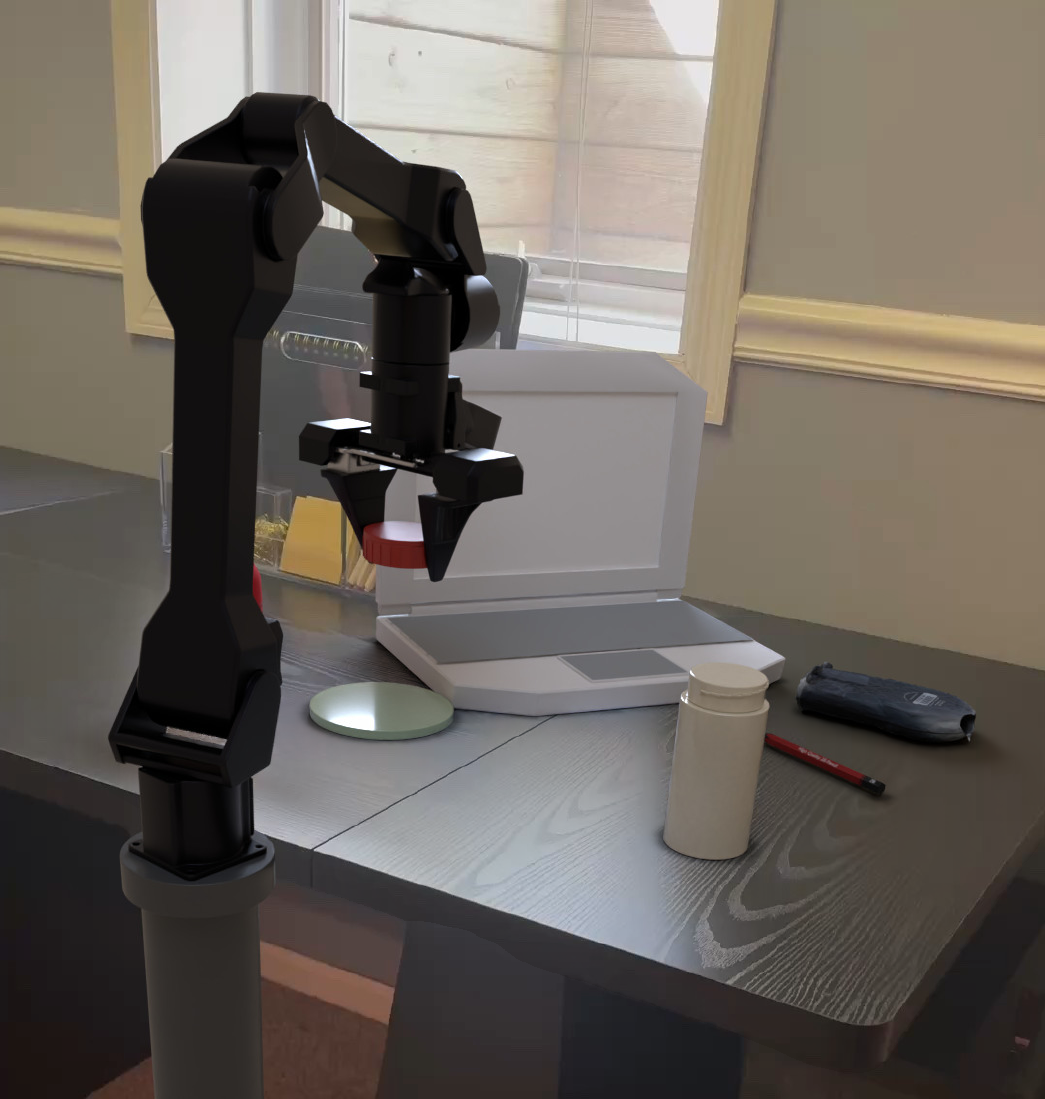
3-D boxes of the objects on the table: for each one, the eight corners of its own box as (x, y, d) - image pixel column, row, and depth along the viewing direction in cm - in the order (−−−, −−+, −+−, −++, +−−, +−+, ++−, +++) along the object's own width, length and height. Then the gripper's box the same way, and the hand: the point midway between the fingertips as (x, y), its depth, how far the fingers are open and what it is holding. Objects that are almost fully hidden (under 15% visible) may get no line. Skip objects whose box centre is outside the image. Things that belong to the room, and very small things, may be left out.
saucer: (382, 751, 111) (382, 742, 111) (279, 711, 118) (279, 702, 117) (482, 717, 120) (483, 708, 119) (381, 681, 126) (381, 672, 126)
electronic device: (788, 733, 125) (960, 749, 118) (792, 670, 123) (967, 682, 116) (820, 718, 133) (984, 733, 126) (825, 659, 131) (991, 670, 124)
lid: (419, 544, 115) (420, 518, 114) (464, 564, 110) (466, 537, 109) (347, 551, 111) (347, 524, 110) (390, 572, 107) (391, 544, 106)
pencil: (756, 736, 119) (757, 725, 119) (884, 793, 110) (886, 781, 109) (748, 738, 119) (750, 726, 118) (876, 796, 109) (878, 784, 109)
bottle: (718, 868, 96) (743, 695, 91) (646, 840, 100) (666, 672, 94) (763, 843, 101) (790, 676, 95) (693, 817, 104) (715, 654, 98)
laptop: (468, 724, 118) (484, 387, 105) (374, 639, 137) (378, 345, 124) (803, 693, 131) (853, 390, 118) (674, 619, 150) (706, 351, 137)
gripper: (577, 371, 105) (561, 581, 112) (396, 340, 115) (392, 534, 122) (477, 380, 97) (467, 605, 104) (292, 346, 107) (295, 553, 114)
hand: (405, 572), depth 111 cm, fingers closed on lid, 6 cm apart
